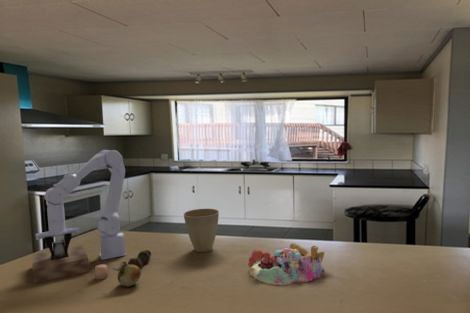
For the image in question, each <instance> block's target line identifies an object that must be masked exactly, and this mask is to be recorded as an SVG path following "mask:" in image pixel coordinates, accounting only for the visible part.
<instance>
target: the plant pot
mask: <svg viewBox="0 0 470 313" xmlns="http://www.w3.org/2000/svg"><path fill="white" fill-rule="evenodd" d="M219 212H220V211H219V210H218V209H216V208H196V209H192V210H191V209H190V210H187V211H185V212H184V213H183V218H184V219H183V220H184V223H185V226H186V231H187V233H188V237H189V239H190V242H191V244H192V247H193V249H194V251H195V252H198V253H199V252H200V253H205V252H210V251H212V250H213V246H214V245H215V240H216V235H217V230H218V226H219V225H218V224H219V214H220V213H219Z"/></svg>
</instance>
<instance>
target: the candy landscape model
mask: <svg viewBox="0 0 470 313" xmlns="http://www.w3.org/2000/svg"><path fill="white" fill-rule="evenodd" d="M318 250H319V247H318V246H317V245H312V246H311V247H310V251H308V250H307V249H306V248H303V247H302V246H301V245H299V243H298V244H297V243H295V242H293V243H290V245H289V246H287V247H285V248H283V249H277V250H275V252H274V253H273V255H272V256H271V254H270V252H269V251H264V252H263V251H262V250H261V249H259V248H256V249H253V250H252V252H251V256H249V258H248V263H247V265H248V274H249V275H250V276H251V277H253V278H254V279H255V280H258V281H259V282H261V283H264V284H267V285H272V286H273V285H274V286H288V285H291V284H293V283H297V282H299V283H304V282H307V283H308V282H313V280H315V279H320V278H321V275H322V273H323V272H324V267H323V266H322V262H323V259H324V256H325V251H320V252H318Z"/></svg>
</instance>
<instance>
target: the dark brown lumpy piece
mask: <svg viewBox="0 0 470 313" xmlns="http://www.w3.org/2000/svg"><path fill="white" fill-rule="evenodd" d="M151 256H152V253H151V251H150V250H148V249H146V250H141V251H140V252H139V253H138V254H137V257H135V258H133V257H132V258H130V259H129V261H128V262H127V264H129V265H136V266H138V267H139V269H140V271H141V270H142V268H143V266H144V264H146V263H149V260H150V258H151Z"/></svg>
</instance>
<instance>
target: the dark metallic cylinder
mask: <svg viewBox="0 0 470 313" xmlns="http://www.w3.org/2000/svg"><path fill="white" fill-rule="evenodd" d="M52 247H53V253H54V260H55V259H61V258H66V255H65V241H64V240H57V241H55V242H52Z"/></svg>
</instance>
